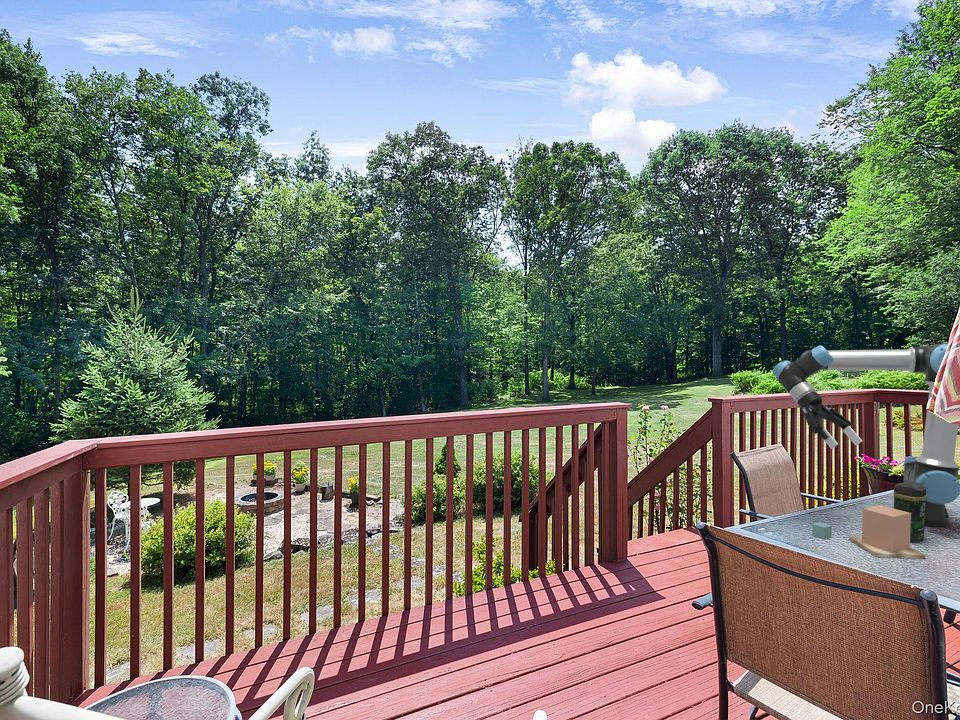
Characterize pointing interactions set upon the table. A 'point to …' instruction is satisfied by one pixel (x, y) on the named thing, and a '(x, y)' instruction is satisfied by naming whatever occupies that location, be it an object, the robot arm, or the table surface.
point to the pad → (883, 553)
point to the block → (822, 530)
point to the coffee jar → (912, 506)
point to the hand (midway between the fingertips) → (847, 445)
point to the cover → (886, 528)
